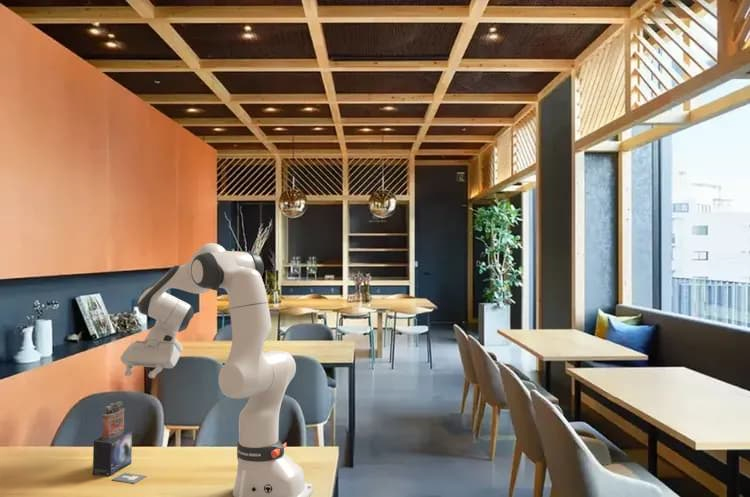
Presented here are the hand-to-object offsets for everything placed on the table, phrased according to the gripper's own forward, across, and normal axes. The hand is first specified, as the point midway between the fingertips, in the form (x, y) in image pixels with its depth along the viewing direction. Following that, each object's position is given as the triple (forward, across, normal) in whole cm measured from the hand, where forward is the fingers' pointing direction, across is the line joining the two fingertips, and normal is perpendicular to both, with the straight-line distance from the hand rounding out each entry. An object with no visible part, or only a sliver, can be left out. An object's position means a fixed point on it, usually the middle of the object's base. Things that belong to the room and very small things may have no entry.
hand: (138, 376), depth 179 cm
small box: (+27, 0, +11) cm, 29 cm away
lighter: (+19, 0, +4) cm, 20 cm away
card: (+30, +10, +8) cm, 32 cm away
